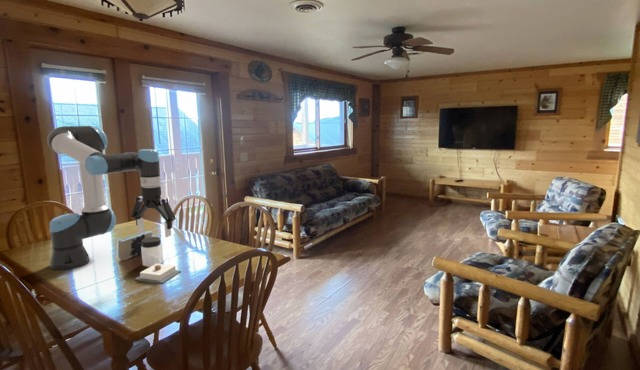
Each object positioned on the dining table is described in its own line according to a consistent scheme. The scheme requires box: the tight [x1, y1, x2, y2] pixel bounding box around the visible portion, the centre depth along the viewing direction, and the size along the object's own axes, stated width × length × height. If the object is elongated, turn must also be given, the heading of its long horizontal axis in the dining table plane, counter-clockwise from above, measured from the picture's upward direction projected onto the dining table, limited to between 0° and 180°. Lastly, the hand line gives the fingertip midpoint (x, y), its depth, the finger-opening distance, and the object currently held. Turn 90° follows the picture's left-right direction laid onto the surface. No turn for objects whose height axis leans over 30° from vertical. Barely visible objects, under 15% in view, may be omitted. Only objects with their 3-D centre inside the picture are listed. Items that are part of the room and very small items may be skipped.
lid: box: [139, 263, 177, 281], centre depth 152 cm, size 10×10×4 cm
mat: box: [134, 269, 182, 285], centre depth 152 cm, size 14×12×1 cm
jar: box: [140, 236, 164, 268], centre depth 164 cm, size 9×8×12 cm
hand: (154, 234), depth 149 cm, fingers open, 13 cm apart
